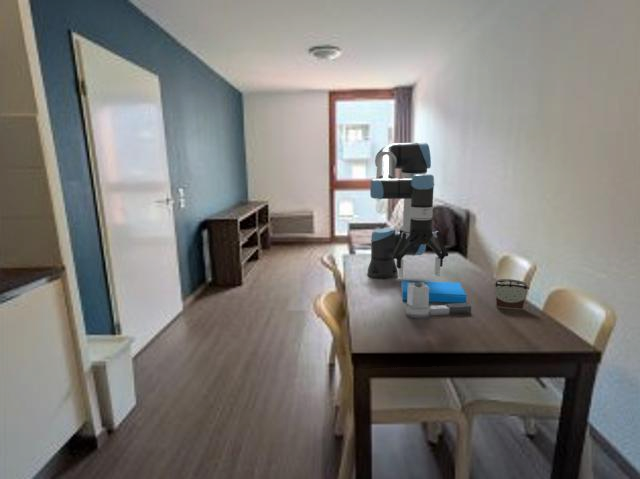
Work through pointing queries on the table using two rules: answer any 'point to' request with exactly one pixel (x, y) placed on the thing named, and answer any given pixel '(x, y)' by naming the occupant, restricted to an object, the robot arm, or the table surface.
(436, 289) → the book
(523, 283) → the food container
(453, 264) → the table surface
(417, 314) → the ratchet
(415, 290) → the grey block with knob
